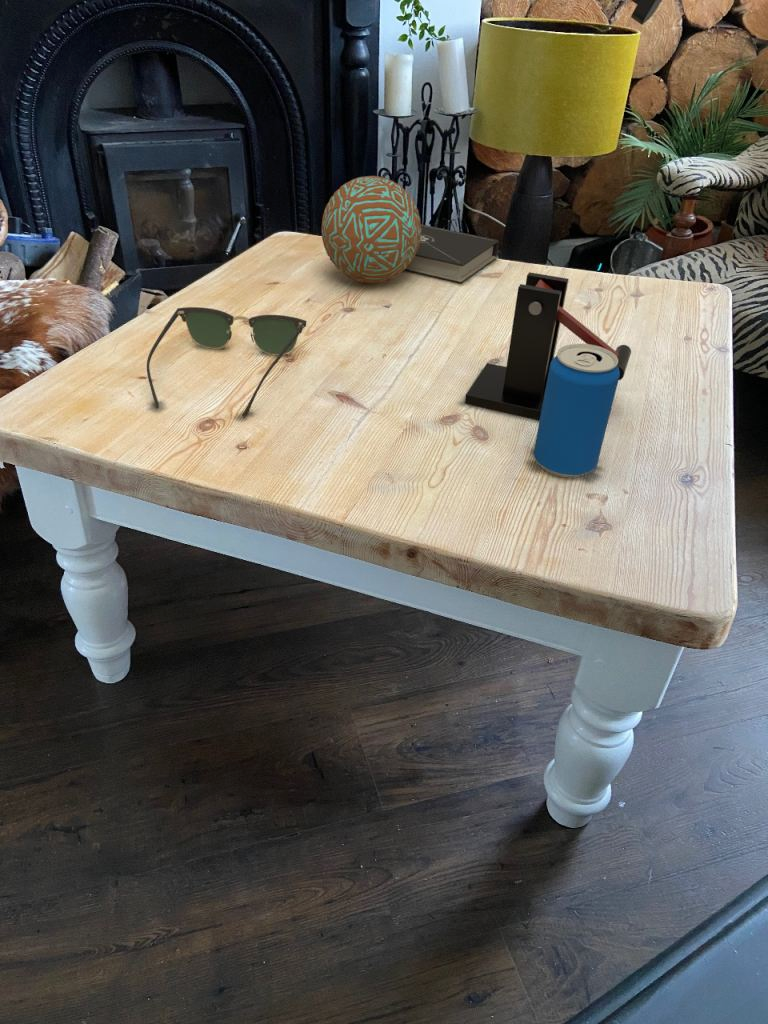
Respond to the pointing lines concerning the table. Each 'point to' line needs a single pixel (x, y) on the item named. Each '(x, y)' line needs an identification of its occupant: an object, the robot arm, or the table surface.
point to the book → (452, 254)
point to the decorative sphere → (371, 229)
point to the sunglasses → (216, 332)
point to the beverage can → (576, 409)
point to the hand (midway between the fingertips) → (708, 65)
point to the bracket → (524, 352)
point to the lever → (590, 335)
